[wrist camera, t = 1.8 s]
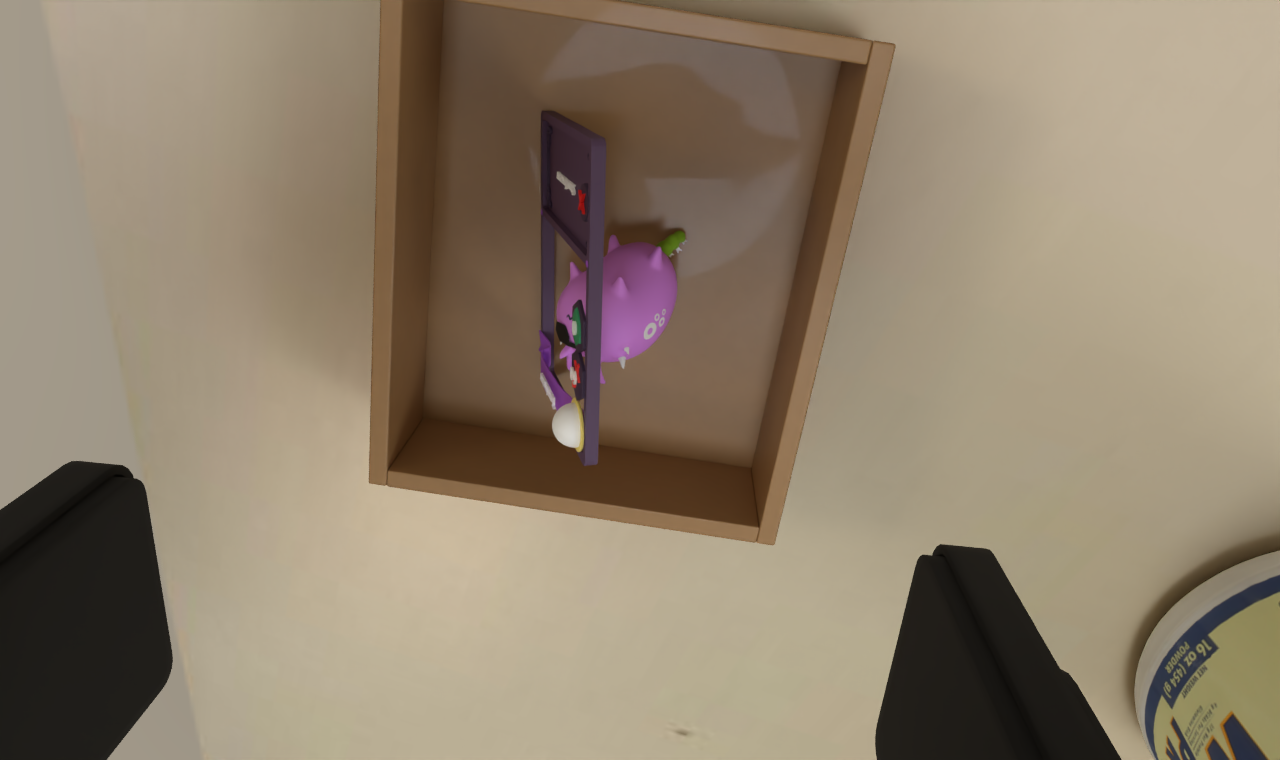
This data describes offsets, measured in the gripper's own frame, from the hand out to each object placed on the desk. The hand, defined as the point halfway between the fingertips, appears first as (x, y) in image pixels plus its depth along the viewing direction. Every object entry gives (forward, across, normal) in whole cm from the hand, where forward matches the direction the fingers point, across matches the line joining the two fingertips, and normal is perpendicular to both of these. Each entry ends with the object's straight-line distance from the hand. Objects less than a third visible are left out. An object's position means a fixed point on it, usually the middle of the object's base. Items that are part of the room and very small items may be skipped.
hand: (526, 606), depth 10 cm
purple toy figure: (+19, 0, 0) cm, 19 cm away
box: (+20, 0, 0) cm, 20 cm away
